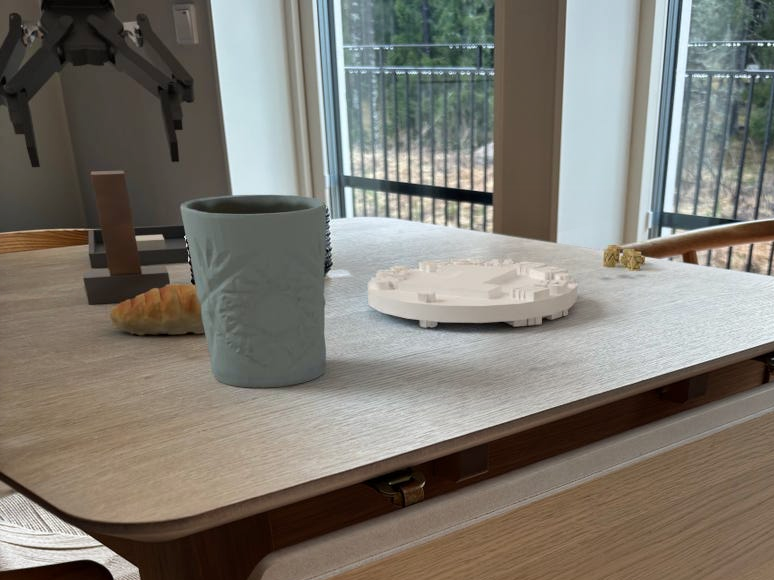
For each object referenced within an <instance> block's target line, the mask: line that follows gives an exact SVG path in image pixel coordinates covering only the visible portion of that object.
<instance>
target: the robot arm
mask: <svg viewBox="0 0 774 580" xmlns="http://www.w3.org/2000/svg"><path fill="white" fill-rule="evenodd" d="M37 1H38V7H39V12H40V17H39V19H38V20H37V21H29V20H23V19H22V15H20V14H19V13H18V12H11V13H10V14H8V31H7V32H6V35H5V37H4V39H3V40H2V43H1V45H0V107H1V106H5V107H7V111H8V112H7V113H8V118H9V121H10V126H11V129H12V131H13V133H14V135H24V141H25V146H26V151H27V154H28V158H29V161H30V165H31V168H41V163H40V158H39V152H38V148H37V147H38V146H37V140H36V136H35V135H36V134H35V129H34V124H33V123H34V122H33V118H32V111H31V108H30V105H29V102H30V101H31V100H32V99H33V98H34V97H35V96H36V95H37V93H38V92H39V91H40V90H41V89H42V88H43V87H44V85H46V83H48V81H49V80H50V79H51V78H52V77H53V76H54V75H55V73H57V74H59V73H61V72H62V70H64V68H66V66H67V65H68V64H72V67H82V66H87V65H89V66H95V67H104V66H105V64H106V63H107V64H109V65H110V66H111V67H112V68H114V69H116V71H118V72H119V73H122V72H123V73H124V74H126V75H127V76H128V77H130V78H131V79H132V80H134V81H135V82H136V83H138V84H139V85H140V86H141V87H143V88H144V89H145V90H146V91H147V92H149V93H150V94H151V95H153V96H154V97H155V98H157V99H158V100H159V103H160V111H161V112H160V113H161V116H162V121H163V127H164V131H165V136H166V141H167V146H168V151H169V156H170V160H171V163H180V155H179V143H178V137H177V132H176V131H183V130H184V126H185V125H184V115H183V108H182V105H181V104H183V103H184V102H185V103H187V104H188V103H189V104H192V103H194V102H195V100H196V97H195V96H196V95H195V82H194V78H193V77H192V75H191V74H190V73H189V72H188V70H187V69H185V67H184V66H183V65H182V63H180V61H179V60H178V59H177V58H176V57H175V55H174V54H173V53H172V52H171V50H170V49H169V48H168V47H167V46H166V44H165V43H164V42H163V41H162V40H161V39H160V37H159V36H158V35H157V34H156V33H155V32H154V30H153V28H152V26H151V23H150V20H149V17H148V15H146V14H145V13H141V12H140V13H137V15H135V21H122V20H121V19H120V17H118V15H117V12H116V10H117V9H116V7H115V1H114V0H37ZM36 38H40V39H41V44H40V47H38V49H37V50H36V51H35V52H34V53H33V54H32V55H31V56H30V57H29V59H28V60H27V61H26V62H25V63H24V64H23V62H24V59H25V57H26V54H27V49H30V48H31V47H32V44H33V42H34V40H35V39H36ZM126 38H129V39H131V40H132V42H133V43H135V45H136V47H137V48H141V49H142V51H143V53H144V54H145V56H146V57H147V58H148V59H149V61H148V60H147V59H146V58H145V57H143V56H142V55H140V54H139V53H138V52H137V51H135V50H134V49H132V48H131V47H130V46H129V45H128V43H127V42H126V40H125V39H126ZM22 64H23V65H22ZM21 65H22V66H21Z"/></svg>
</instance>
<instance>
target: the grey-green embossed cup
mask: <svg viewBox="0 0 774 580" xmlns="http://www.w3.org/2000/svg"><path fill="white" fill-rule="evenodd" d="M180 214H181V219H182V223H183V224H182V225H184V229H185V234H186V238H187V242H188V245H189V252H190V257H191V262H190V263H191V269H192V273H193V279H194V285H196V290H197V295H198V299H199V301H200V304H201V307H202V311H201V313H202V321H203V325H204V330H205V333H204V335H205V339H206V345H207V348H208V349H207V350H208V354H209V361H210V367H211V372H212V374H213V376H214V378H215V379H216V380H217V381H218V382H220V383H222V384H225V385H228V386H232V387H233V386H234V387H242V388H255V389H257V388H258V389H259V388H261V389H263V388H265V389H266V388H280V387H287V386H294V385H299V384H304V383H307V382H310V381H313V380H315V379H318V378H319V377H321V376H323V374H324V373H325V372H326V365H327V347H326V346H327V345H326V337H325V326H326V325H325V321H326V320H325V319H326V318H325V317H326V316H325V315H326V314H325V312H326V311H325V307H326V299H325V264H326V263H325V261H326V247H327V246H326V245H327V242H326V240H327V239H326V238H327V237H326V236H327V235H326V231H327V230H326V228H327V225H326V224H327V206H326V203H325V202H324V201H322V200H321V199H318V198H314V197H309V196H302V195H288V194H286V195H284V194H236V195H235V194H233V195H219V196H209V197H200V198H195V199H190V200H187V201H184V202H183V203H181V204H180Z"/></svg>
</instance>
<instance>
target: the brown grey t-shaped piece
mask: <svg viewBox="0 0 774 580" xmlns="http://www.w3.org/2000/svg"><path fill="white" fill-rule="evenodd" d="M90 177H91V181H92V188H93V193H94V197H95V204H96V208H97V212H98V213H97V214H98V218H99V224H100V229H101V230H102V235H103V240H104V245H105V251H106V256H107V261H108V267H107V268H108V269H95V270H83V284H84V288H85V293H86V298H87V302H88V305H101V304H113V303H114V304H115V303H121V302H124V301H126V300H128V299H134V298H135V297H136V296H138V295H141V294H143V293H146V292H148V291H150V290H151V289H153V288H163V287H165V286H166V285H168V284H171V282H170V275H169V271H168V268H167V266H166V265H158V266H157V265H154V266H143V267H141V266H142V265H140V260H139V254H138V248H137V242H136V237H135V231H134V227H135V226H134V220H133V214H132V209H131V202H130V197H129V191H128V185H127V179H126V174H125V171H124V170H101V171H99V170H98V171H90Z"/></svg>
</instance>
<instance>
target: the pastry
mask: <svg viewBox="0 0 774 580" xmlns="http://www.w3.org/2000/svg"><path fill="white" fill-rule="evenodd" d="M201 311H202V307H201V304H200V301H199V299H198V295H197V290H196V285H195V284H188V283H187V284H185V283H179V284H176V283H170V284H168V285H166V286H165V287H163V288H153V289H151V290H150V291H148V292H146V293H143V294H141V295H138V296H136V297H135V298H134V299H128V300H126V301H124V302H118V304H117V305H116V306H115V307H114V308H113V309H112V310H111V311H110V312H109V316H110V320H111V324H112V326H114V327H115V328H117V329H119V330H122V331H123V332H126V333H129V334H131V335H132V336H133V335H134V334H135V335H137V336H145V335H155V336H158V335H160V334H161V335H163V334H164V335H166V334H168V335H186V334H187V333H194V334H197V335H198V334H205V330H204V325H203V321H202V313H201Z"/></svg>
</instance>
